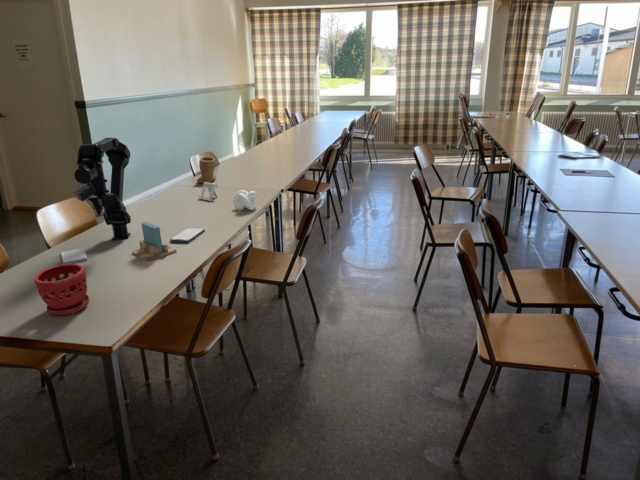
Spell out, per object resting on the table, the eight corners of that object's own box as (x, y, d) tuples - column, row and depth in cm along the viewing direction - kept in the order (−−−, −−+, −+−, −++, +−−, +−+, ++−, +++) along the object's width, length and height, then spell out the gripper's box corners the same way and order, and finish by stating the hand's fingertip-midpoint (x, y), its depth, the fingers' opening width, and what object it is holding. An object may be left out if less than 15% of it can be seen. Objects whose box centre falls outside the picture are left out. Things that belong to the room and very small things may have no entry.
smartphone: (187, 231, 211) (169, 243, 196) (187, 227, 210) (168, 239, 196) (206, 232, 209) (189, 244, 194) (205, 228, 209) (188, 240, 194)
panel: (145, 247, 188) (141, 223, 184) (150, 246, 189) (146, 221, 186) (158, 253, 181) (154, 228, 178) (163, 252, 183) (159, 227, 179)
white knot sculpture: (260, 211, 234) (258, 193, 231) (235, 213, 232) (233, 195, 229) (257, 205, 245) (255, 188, 241) (233, 207, 242) (231, 190, 239)
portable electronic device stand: (198, 199, 258) (196, 184, 256) (209, 196, 264) (207, 181, 262) (209, 201, 254) (207, 186, 251) (220, 198, 260) (219, 183, 257)
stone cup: (213, 184, 291) (210, 159, 286) (194, 184, 293) (191, 159, 287) (221, 178, 305) (219, 154, 300) (203, 178, 307) (200, 154, 301)
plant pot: (66, 296, 152) (58, 261, 148) (101, 301, 148) (94, 265, 144) (32, 316, 140) (22, 278, 136) (69, 321, 137) (60, 283, 133)
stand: (132, 253, 186) (130, 243, 184) (160, 244, 194) (159, 235, 192) (147, 261, 178) (146, 251, 176) (176, 251, 186) (175, 242, 184)
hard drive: (87, 257, 180) (83, 247, 190) (63, 262, 176) (60, 252, 186) (88, 261, 181) (84, 251, 191) (64, 266, 177) (61, 256, 187)
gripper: (64, 178, 183) (73, 217, 189) (84, 185, 171) (93, 227, 177) (93, 172, 191) (101, 210, 196) (115, 179, 179) (122, 219, 184)
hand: (103, 216), depth 188 cm, fingers open, 8 cm apart
